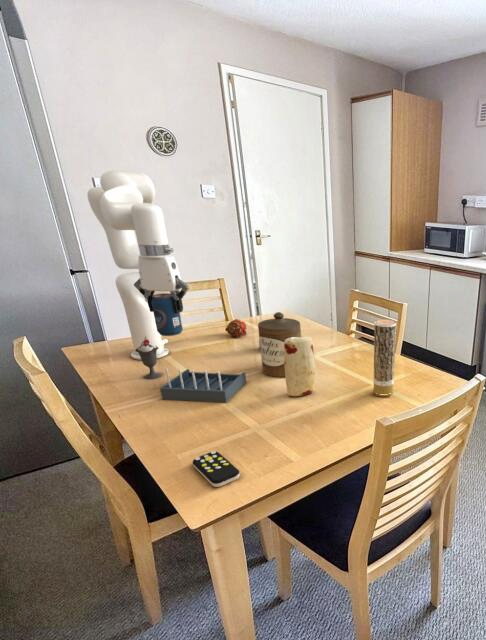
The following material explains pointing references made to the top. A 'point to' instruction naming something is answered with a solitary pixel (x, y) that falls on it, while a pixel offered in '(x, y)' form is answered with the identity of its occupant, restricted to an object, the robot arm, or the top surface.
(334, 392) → the top surface
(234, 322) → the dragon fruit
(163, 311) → the soda can
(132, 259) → the robot arm
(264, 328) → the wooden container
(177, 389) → the dish rack
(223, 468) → the remote control
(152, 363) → the sundae
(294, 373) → the food model
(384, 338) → the wooden log
